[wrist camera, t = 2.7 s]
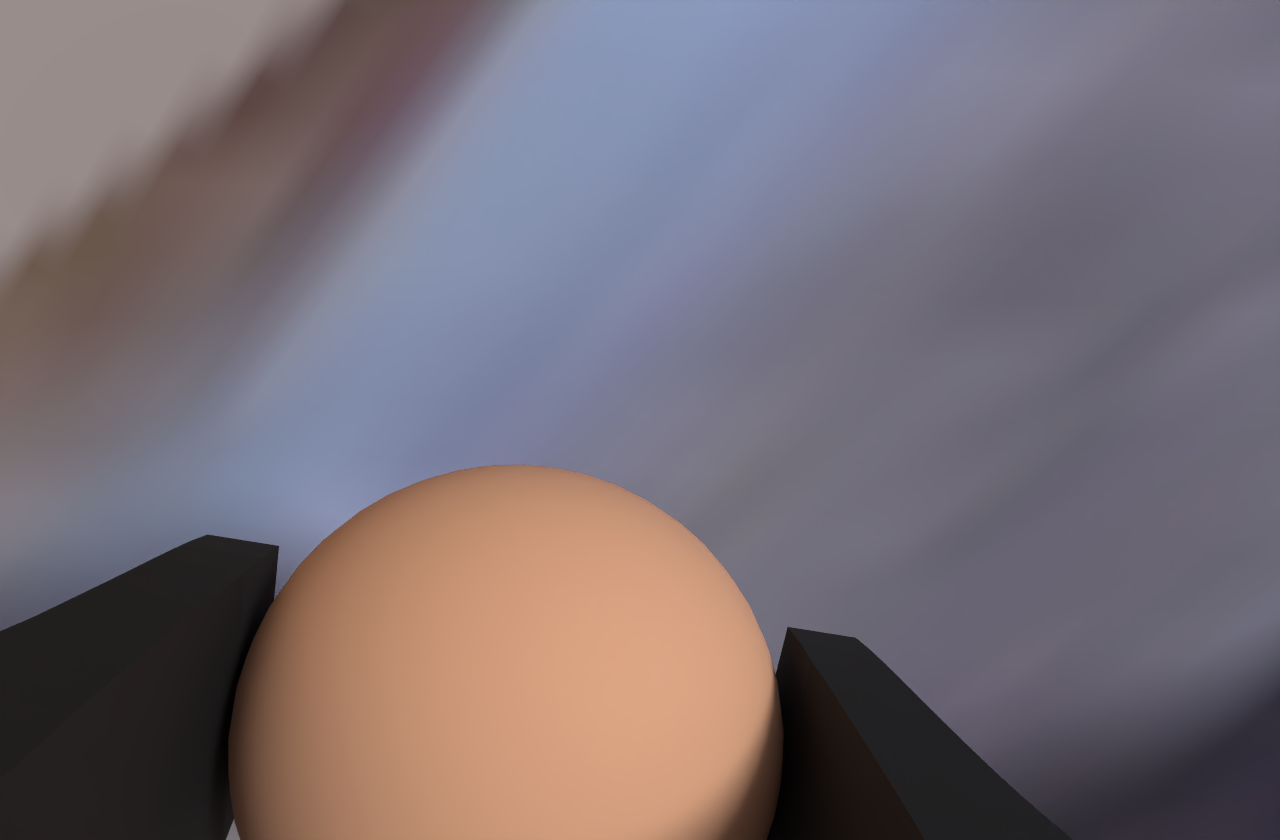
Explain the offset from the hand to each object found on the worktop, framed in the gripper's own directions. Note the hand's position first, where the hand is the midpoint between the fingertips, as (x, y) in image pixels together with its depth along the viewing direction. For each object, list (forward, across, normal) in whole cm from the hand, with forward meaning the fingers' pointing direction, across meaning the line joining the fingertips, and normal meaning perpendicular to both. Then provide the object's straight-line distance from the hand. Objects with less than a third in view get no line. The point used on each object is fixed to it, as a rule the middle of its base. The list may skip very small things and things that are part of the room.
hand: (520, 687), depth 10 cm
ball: (+2, 0, 0) cm, 2 cm away
